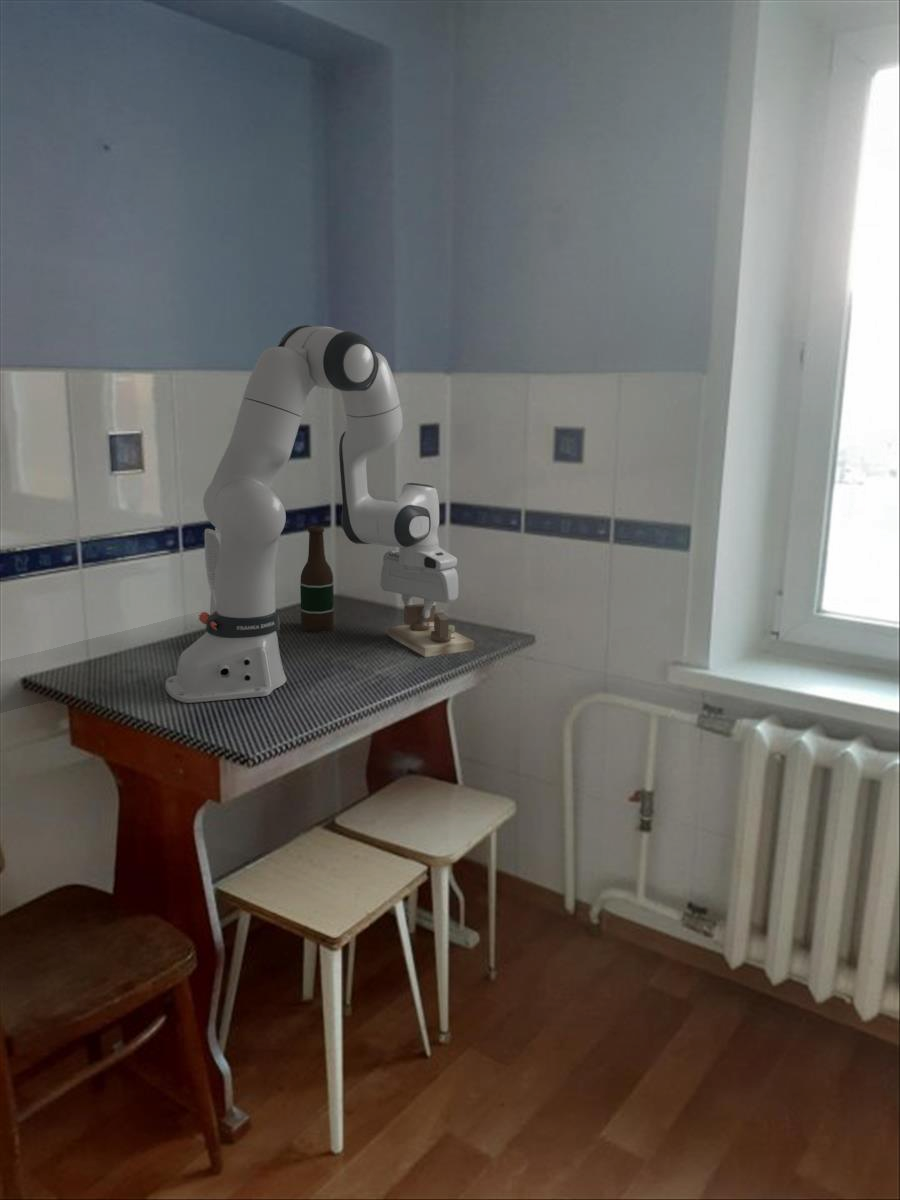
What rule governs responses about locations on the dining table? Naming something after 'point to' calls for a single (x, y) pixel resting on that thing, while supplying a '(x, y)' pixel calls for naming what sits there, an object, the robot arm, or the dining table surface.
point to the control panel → (425, 645)
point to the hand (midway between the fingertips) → (417, 615)
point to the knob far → (417, 617)
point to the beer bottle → (317, 586)
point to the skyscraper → (212, 561)
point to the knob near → (440, 627)
